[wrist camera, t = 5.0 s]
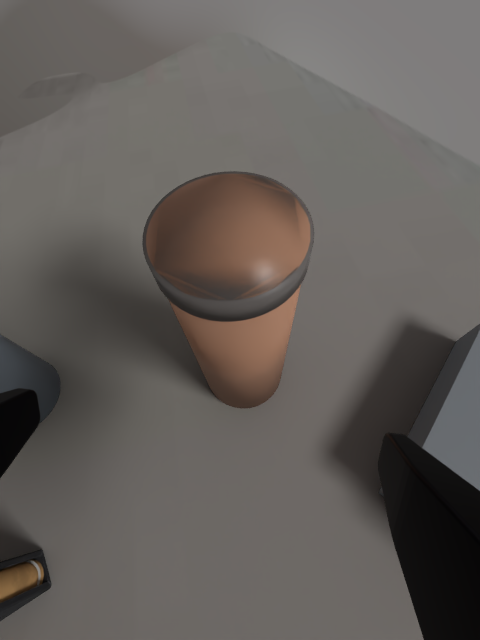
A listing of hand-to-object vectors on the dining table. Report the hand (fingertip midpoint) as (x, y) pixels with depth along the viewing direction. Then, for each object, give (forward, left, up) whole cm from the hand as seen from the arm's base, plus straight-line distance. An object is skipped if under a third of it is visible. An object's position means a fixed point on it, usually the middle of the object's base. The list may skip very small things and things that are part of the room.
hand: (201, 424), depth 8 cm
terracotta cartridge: (+2, +5, -12) cm, 13 cm away
